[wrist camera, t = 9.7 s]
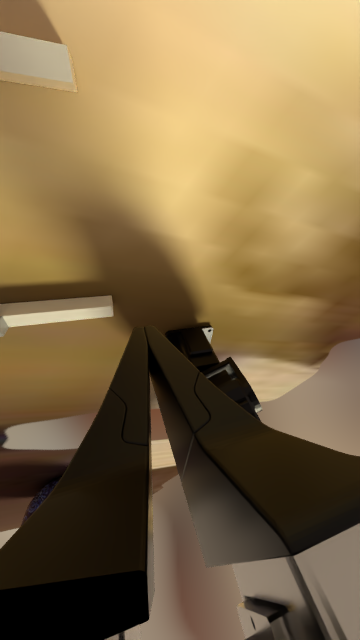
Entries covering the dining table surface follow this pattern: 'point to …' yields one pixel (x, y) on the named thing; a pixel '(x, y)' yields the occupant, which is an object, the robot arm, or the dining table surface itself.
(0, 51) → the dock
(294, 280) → the dining table surface
